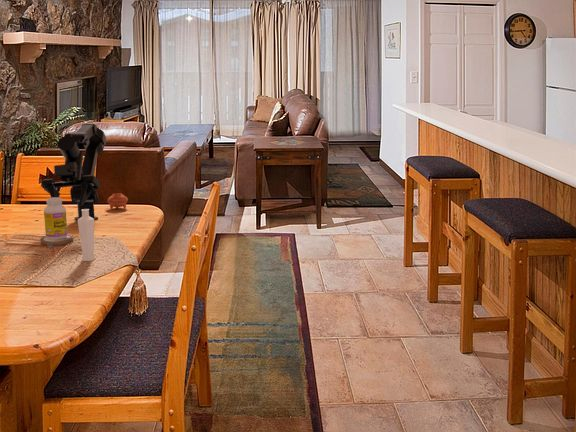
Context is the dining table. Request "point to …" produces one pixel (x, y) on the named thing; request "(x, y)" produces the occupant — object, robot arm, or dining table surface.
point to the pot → (117, 200)
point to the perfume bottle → (86, 235)
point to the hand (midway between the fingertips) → (67, 206)
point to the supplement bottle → (55, 219)
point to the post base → (56, 241)
